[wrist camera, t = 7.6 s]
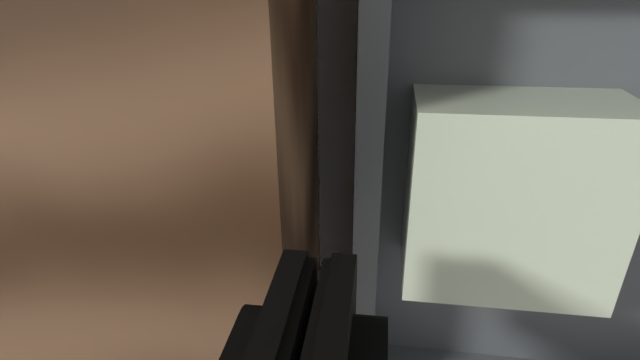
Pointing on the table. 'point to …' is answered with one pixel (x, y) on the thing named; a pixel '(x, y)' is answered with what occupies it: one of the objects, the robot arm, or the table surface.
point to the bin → (392, 150)
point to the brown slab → (150, 171)
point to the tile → (521, 197)
